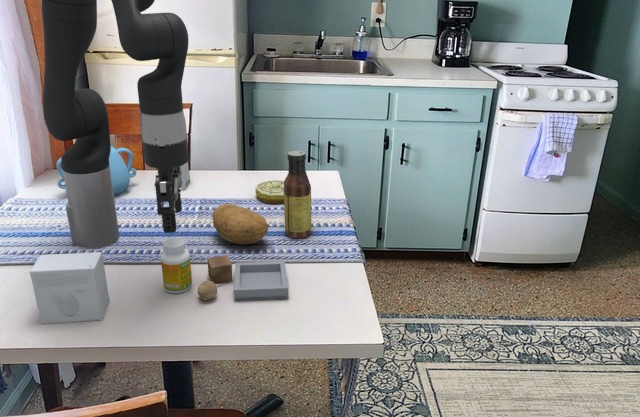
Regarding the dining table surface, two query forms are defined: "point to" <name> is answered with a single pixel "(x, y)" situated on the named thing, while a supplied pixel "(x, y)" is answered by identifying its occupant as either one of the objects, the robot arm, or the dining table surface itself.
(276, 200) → the decorated donut
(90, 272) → the skincare box
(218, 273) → the walnut block
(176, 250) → the supplement bottle
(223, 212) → the potato
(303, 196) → the sauce bottle
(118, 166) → the decorative pot
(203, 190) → the dining table surface
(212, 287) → the cork ball
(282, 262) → the tray
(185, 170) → the syrup box
